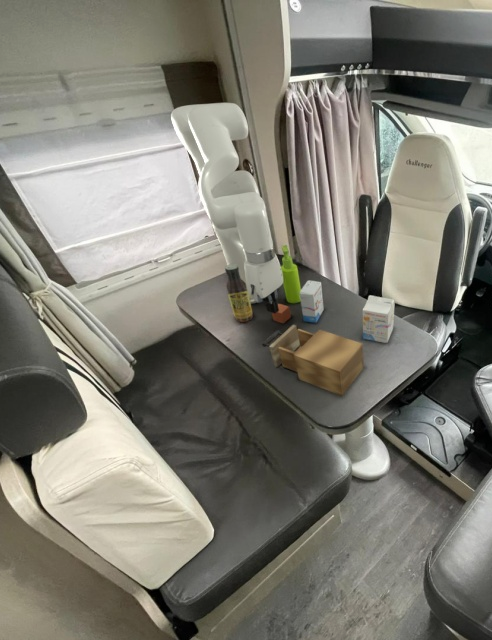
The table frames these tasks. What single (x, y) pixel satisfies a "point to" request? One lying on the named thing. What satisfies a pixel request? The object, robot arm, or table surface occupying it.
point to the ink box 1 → (311, 301)
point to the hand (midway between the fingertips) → (273, 310)
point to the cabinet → (329, 361)
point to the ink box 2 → (378, 319)
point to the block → (282, 314)
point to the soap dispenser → (290, 277)
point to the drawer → (287, 346)
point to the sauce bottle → (238, 294)
